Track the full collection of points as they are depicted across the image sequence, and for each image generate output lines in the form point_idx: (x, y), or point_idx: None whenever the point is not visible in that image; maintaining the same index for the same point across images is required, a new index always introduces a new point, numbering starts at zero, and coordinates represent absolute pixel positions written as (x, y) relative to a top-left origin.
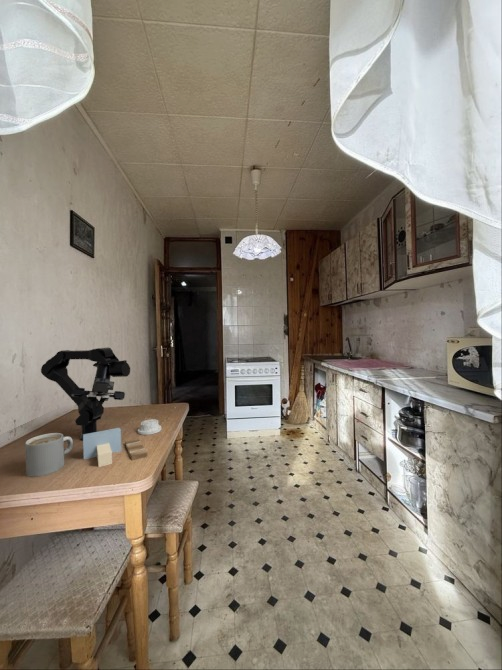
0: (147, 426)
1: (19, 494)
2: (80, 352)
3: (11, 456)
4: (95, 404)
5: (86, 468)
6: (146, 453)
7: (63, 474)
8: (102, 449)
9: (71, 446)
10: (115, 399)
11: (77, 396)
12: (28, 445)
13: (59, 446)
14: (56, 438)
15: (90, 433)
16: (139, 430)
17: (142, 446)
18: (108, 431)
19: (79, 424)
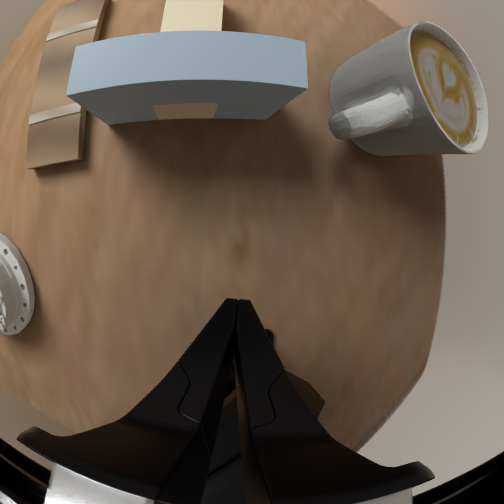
0: None
1: (392, 17)
2: None
3: (435, 284)
4: (252, 401)
5: (257, 13)
6: (60, 6)
7: (322, 25)
8: (200, 9)
9: (335, 114)
10: (44, 467)
11: (431, 489)
12: (473, 66)
13: (388, 37)
14: (421, 87)
15: (262, 76)
16: (23, 289)
17: (42, 62)
18: (146, 46)
19: (300, 380)
